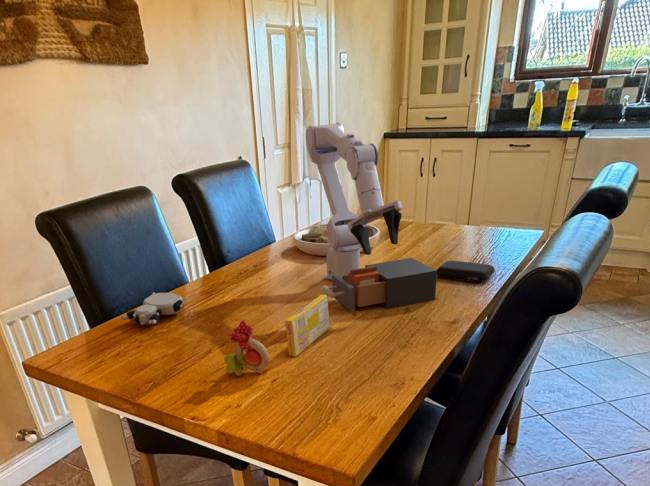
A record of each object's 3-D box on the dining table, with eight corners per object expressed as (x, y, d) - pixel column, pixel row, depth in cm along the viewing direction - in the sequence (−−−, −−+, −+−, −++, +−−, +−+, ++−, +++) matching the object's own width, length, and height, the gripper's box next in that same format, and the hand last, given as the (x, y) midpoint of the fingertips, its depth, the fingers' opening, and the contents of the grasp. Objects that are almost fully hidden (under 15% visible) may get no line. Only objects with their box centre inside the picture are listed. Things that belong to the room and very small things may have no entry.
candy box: (322, 327, 122) (320, 293, 117) (330, 328, 121) (329, 294, 116) (287, 355, 110) (284, 319, 106) (295, 357, 109) (293, 320, 105)
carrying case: (431, 279, 145) (484, 286, 138) (432, 268, 144) (485, 274, 136) (445, 268, 153) (496, 274, 145) (446, 258, 151) (497, 263, 143)
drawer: (334, 313, 126) (334, 291, 123) (318, 298, 136) (317, 277, 133) (396, 302, 130) (396, 280, 127) (375, 288, 139) (375, 267, 136)
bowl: (277, 253, 180) (275, 231, 176) (322, 233, 200) (321, 212, 196) (353, 262, 164) (353, 237, 160) (393, 240, 185) (394, 217, 181)
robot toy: (157, 334, 127) (193, 309, 138) (152, 318, 125) (190, 293, 135) (121, 328, 133) (158, 304, 143) (115, 312, 130) (154, 288, 140)
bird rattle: (267, 374, 108) (229, 355, 108) (283, 331, 101) (242, 311, 102) (255, 389, 103) (216, 369, 104) (271, 345, 96) (229, 324, 97)
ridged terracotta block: (354, 300, 130) (354, 273, 126) (347, 294, 134) (347, 268, 130) (379, 295, 131) (379, 268, 128) (371, 290, 135) (371, 264, 132)
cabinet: (386, 308, 129) (387, 279, 125) (365, 292, 140) (365, 265, 136) (435, 299, 132) (437, 270, 128) (409, 284, 143) (411, 257, 139)
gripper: (336, 204, 128) (348, 257, 128) (387, 179, 119) (399, 237, 119) (352, 207, 133) (363, 259, 134) (401, 184, 124) (413, 239, 124)
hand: (381, 249), depth 127 cm, fingers open, 7 cm apart
